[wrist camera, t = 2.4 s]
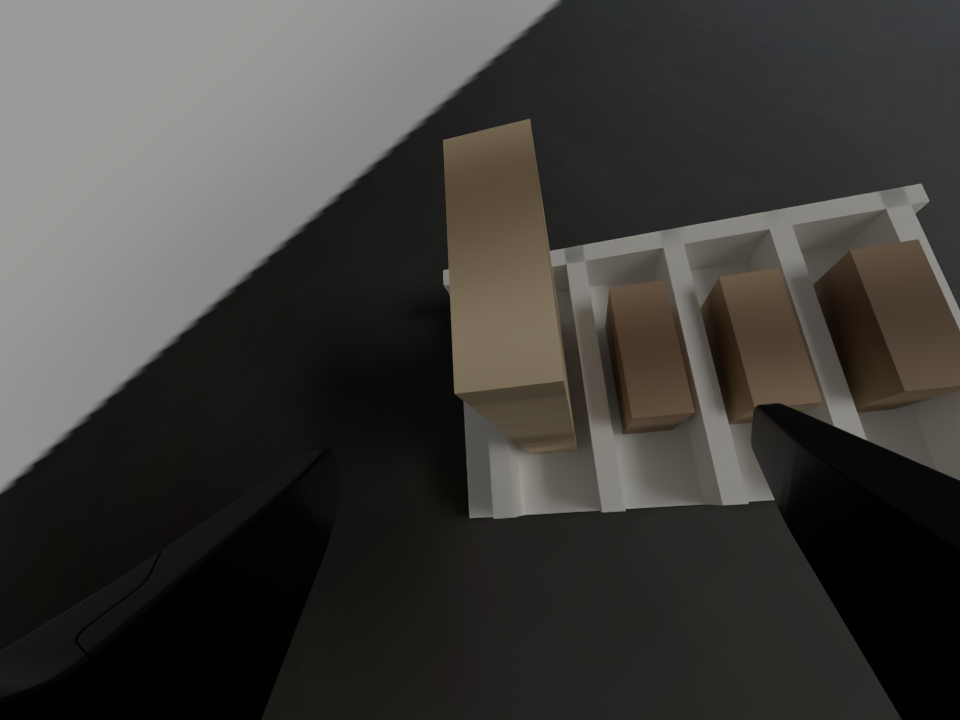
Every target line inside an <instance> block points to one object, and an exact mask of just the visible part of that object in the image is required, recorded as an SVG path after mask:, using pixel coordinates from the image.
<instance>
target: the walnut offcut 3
mask: <svg viewBox="0 0 960 720" xmlns="http://www.w3.org/2000/svg"><path fill="white" fill-rule="evenodd" d="M813 287H814V290H815V293H816V295H817V298H818V301H819V304H820V307H821V310H822V313H823V316H824V318H825V321H826V324H827V327H828V330H829V333H830V336H831V338H832V341H833V344H834V347H835V350H836V353H837V356H838V359H839V361H840V364H841V367H842V370H843V373H844V376H845V379H846V381H847V384H848V387H849V390H850V393H851V396H852V399H853V402H854V404H855V407H856V410H857V413H861V412H871V411H882V410H893V409H897V408H901V407H904V406H908V405H911V404H915V403H918V402H922V401H925V400H929V399H932V398H936V397H939V396H943V395H946V394H950V393H953V392H956V391H960V330H959V327H958V325H957V323H956V321H955V319H954V316H953V314H952V312H951V310H950V308H949V305H948V303H947V301H946V299H945V297H944V294H943V292H942V290H941V288H940V286H939V283H938V281H937V279H936V277H935V275H934V272H933V270H932V268H931V266H930V264H929V261H928V259H927V257H926V255H925V253H924V250H923V248H922V246H921V244H920V242H919V239H917V240H910V241H904V242H898V243H892V244H885V245H879V246H873V247H866V248H860V249H854V250H849V251H848V252H847V253H846V254H845V255H844V256H843V257H842V258H841V259H840V260H839V261H838V262H837V263H836V264H835V265H834V266H832V267H831V268H830V269H829V270H828V271H827V272H826V273H825V274H824V275H823V276H822V277H821V278H820V279H819V280H818V281H817V282H815V283H814V284H813Z"/></svg>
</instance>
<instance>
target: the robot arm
mask: <svg viewBox="0 0 960 720" xmlns="http://www.w3.org/2000/svg"><path fill="white" fill-rule="evenodd" d="M751 446H752V449H753V452H754V455H755V457H756V459H757V461H758V464H759V466H760V468H761V470H762V472H763V475H764V477H765V479H766V481H767V484H768V486H769V488H770V490H771V493H772V495H773V497H774V499H775V502H776V504H777V506H778V508H779V511H780V513H781V515H782V517H783V519H784V521H785V523H786V525H787V526H788V528H789V530H790V532H791V534H792V535H793V537H794V539H795V540H796V542H797V544H798V545H799V547H800V549H801V550H802V552H803V554H804V556H805V557H806V559H807V561H808V562H809V564H810V566H811V567H812V569H813V571H814V572H815V574H816V576H817V577H818V579H819V581H820V582H821V584H822V586H823V588H824V589H825V591H826V593H827V594H828V596H829V598H830V599H831V601H832V603H833V604H834V606H835V608H836V609H837V611H838V613H839V614H840V616H841V618H842V619H843V621H844V623H845V625H846V626H847V628H848V630H849V631H850V633H851V635H852V636H853V638H854V640H855V641H856V643H857V645H858V646H859V648H860V650H861V651H862V653H863V655H864V657H865V658H866V660H867V662H868V663H869V665H870V667H871V668H872V670H873V672H874V673H875V675H876V677H877V678H878V680H879V682H880V683H881V685H882V687H883V688H884V690H885V692H886V694H887V695H888V697H889V699H890V700H891V702H892V704H893V705H894V707H895V709H896V710H897V712H898V714H899V715H900V717H901V719H902V720H960V480H957V479H955V478H953V477H951V476H948V475H946V474H944V473H941V472H939V471H937V470H934V469H932V468H930V467H927V466H925V465H923V464H920V463H918V462H916V461H914V460H911V459H909V458H907V457H904V456H902V455H900V454H897V453H895V452H893V451H890V450H888V449H886V448H883V447H881V446H879V445H876V444H874V443H872V442H870V441H867V440H865V439H863V438H860V437H858V436H856V435H853V434H851V433H849V432H846V431H844V430H842V429H839V428H837V427H835V426H833V425H830V424H828V423H826V422H823V421H821V420H819V419H816V418H814V417H812V416H809V415H807V414H805V413H802V412H800V411H798V410H796V409H793V408H791V407H789V406H786V405H784V404H781V403H770V404H761V405H757V406H756V407H755V408H754V411H753V419H752V431H751ZM344 483H345V478H344V474H343V471H342V469H341V467H340V465H339V462H338V460H337V458H336V456H335V454H334V452H333V451H332V450H331V449H329V448H322V449H314V450H312V451H310V452H308V453H307V454H305V455H304V456H302V457H301V458H299V459H298V460H296V461H295V462H293V463H292V464H290V465H289V466H287V467H286V468H284V469H283V470H281V471H280V472H278V473H277V474H275V475H274V476H272V477H271V478H269V479H268V480H266V481H265V482H263V483H262V484H260V485H259V486H257V487H256V488H254V489H253V490H251V491H250V492H248V493H247V494H245V495H244V496H242V497H241V498H239V499H238V500H236V501H235V502H233V503H232V504H230V505H229V506H227V507H226V508H224V509H223V510H221V511H220V512H218V513H217V514H215V515H214V516H212V517H211V518H209V519H208V520H206V521H205V522H203V523H202V524H200V525H199V526H197V527H196V528H194V529H193V530H191V531H190V532H188V533H187V534H185V535H184V536H182V537H181V538H179V539H178V540H176V541H175V542H173V543H172V544H170V545H169V546H167V547H166V548H164V549H163V550H162V552H158V553H157V554H155V555H154V556H152V557H151V558H149V559H148V560H146V561H145V562H143V563H142V564H140V565H139V566H137V567H136V568H134V569H133V570H131V571H129V572H128V573H126V574H125V575H123V576H122V577H120V578H119V579H117V580H116V581H114V582H113V583H111V584H109V585H108V586H106V587H105V588H103V589H101V590H100V591H98V592H97V593H95V594H93V595H92V596H90V597H89V598H87V599H85V600H84V601H82V602H81V603H79V604H77V605H76V606H74V607H72V608H71V609H69V610H67V611H66V612H64V613H63V614H61V615H59V616H58V617H56V618H54V619H53V620H51V621H49V622H48V623H46V624H45V625H43V626H41V627H40V628H38V629H36V630H35V631H33V632H31V633H30V634H28V635H26V636H25V637H23V638H22V639H20V640H18V641H17V642H15V643H13V644H12V645H10V646H8V647H7V648H5V649H4V650H2V651H0V720H261V719H262V716H263V713H264V711H265V708H266V706H267V703H268V700H269V698H270V695H271V693H272V690H273V687H274V685H275V682H276V679H277V677H278V674H279V672H280V669H281V666H282V664H283V661H284V659H285V656H286V653H287V651H288V648H289V645H290V643H291V640H292V638H293V635H294V632H295V630H296V627H297V625H298V622H299V619H300V617H301V614H302V611H303V609H304V606H305V604H306V601H307V598H308V596H309V593H310V591H311V588H312V585H313V583H314V580H315V577H316V575H317V572H318V570H319V567H320V564H321V562H322V559H323V557H324V554H325V551H326V548H327V545H328V542H329V539H330V536H331V532H332V528H333V525H334V521H335V517H336V514H337V510H338V506H339V503H340V499H341V495H342V492H343V488H344Z"/></svg>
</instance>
